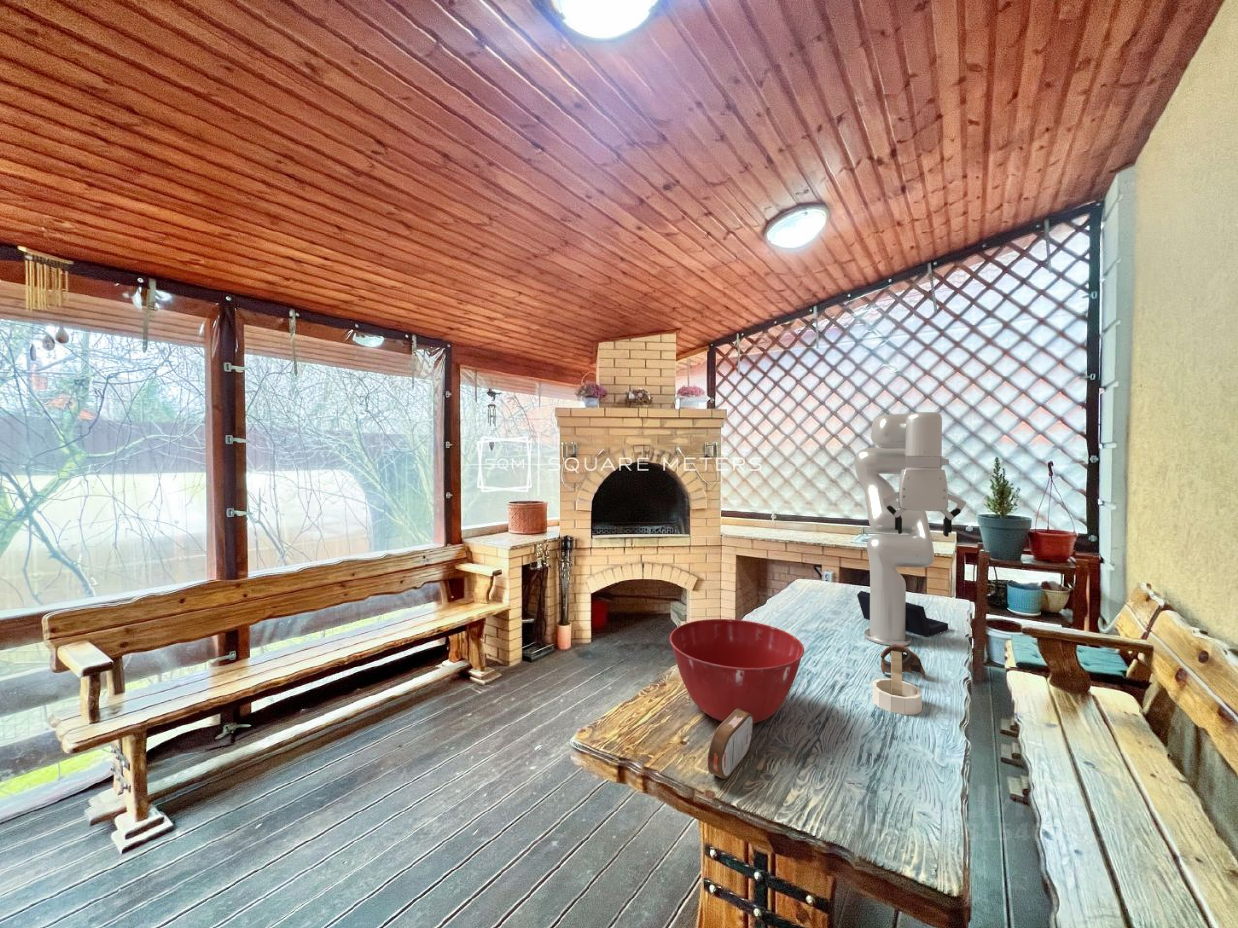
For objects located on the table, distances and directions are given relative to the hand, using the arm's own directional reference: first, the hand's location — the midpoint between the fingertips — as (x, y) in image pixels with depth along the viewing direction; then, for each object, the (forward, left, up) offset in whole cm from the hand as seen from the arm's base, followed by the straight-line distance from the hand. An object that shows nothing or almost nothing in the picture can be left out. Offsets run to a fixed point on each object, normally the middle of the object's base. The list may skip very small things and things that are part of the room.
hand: (922, 534), depth 123 cm
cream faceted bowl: (+14, -6, -36) cm, 39 cm away
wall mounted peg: (+15, -6, -35) cm, 39 cm away
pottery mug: (-5, -3, -37) cm, 38 cm away
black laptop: (-46, -1, -37) cm, 59 cm away
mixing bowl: (+32, -38, -37) cm, 62 cm away
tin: (+52, -34, -37) cm, 72 cm away
